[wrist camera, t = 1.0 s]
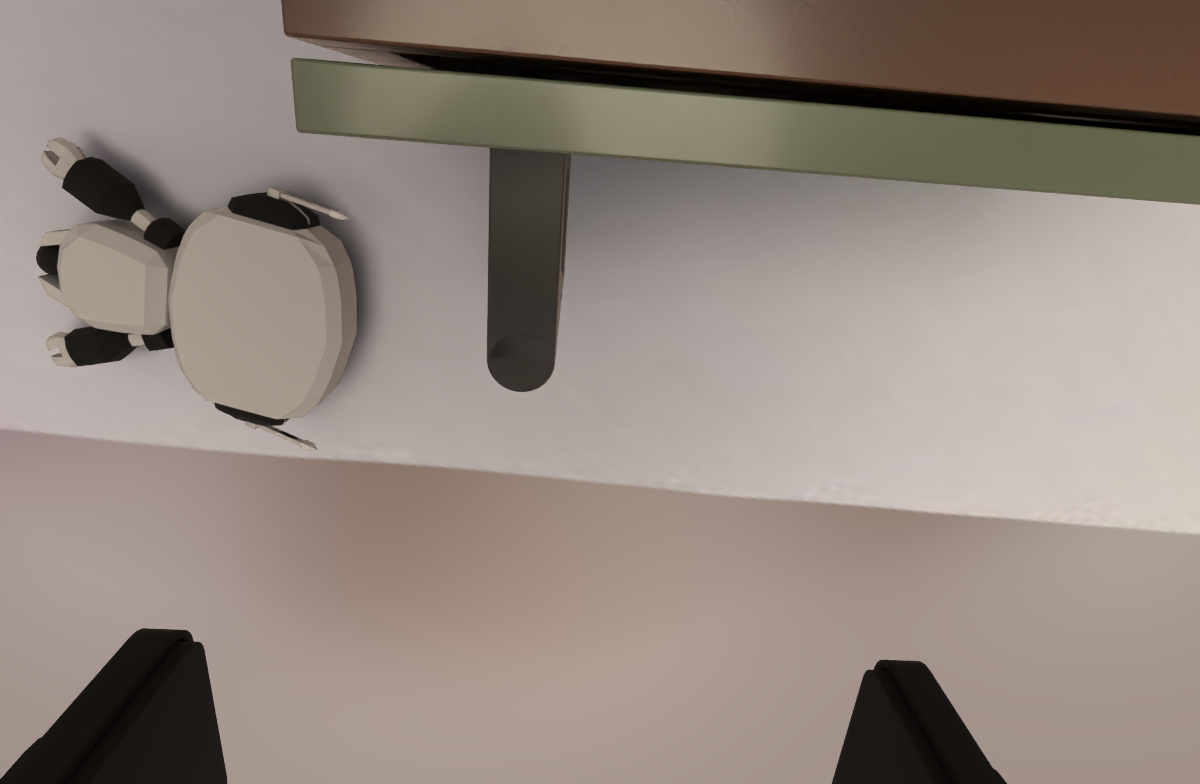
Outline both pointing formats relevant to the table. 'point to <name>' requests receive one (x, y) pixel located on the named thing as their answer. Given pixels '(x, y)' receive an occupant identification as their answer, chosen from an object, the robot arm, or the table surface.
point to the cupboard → (810, 50)
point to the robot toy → (205, 292)
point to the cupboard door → (695, 160)
